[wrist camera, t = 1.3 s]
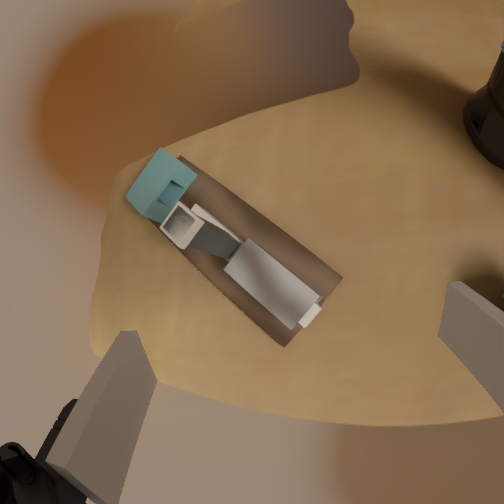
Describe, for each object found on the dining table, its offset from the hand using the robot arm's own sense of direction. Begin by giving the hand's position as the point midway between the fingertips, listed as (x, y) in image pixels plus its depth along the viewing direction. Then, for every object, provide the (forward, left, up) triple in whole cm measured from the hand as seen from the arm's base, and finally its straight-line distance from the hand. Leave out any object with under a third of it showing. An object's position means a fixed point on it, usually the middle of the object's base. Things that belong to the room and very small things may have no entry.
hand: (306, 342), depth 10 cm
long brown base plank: (+2, -18, -27) cm, 33 cm away
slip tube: (+2, -12, -25) cm, 28 cm away
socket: (+2, -32, -26) cm, 41 cm away
